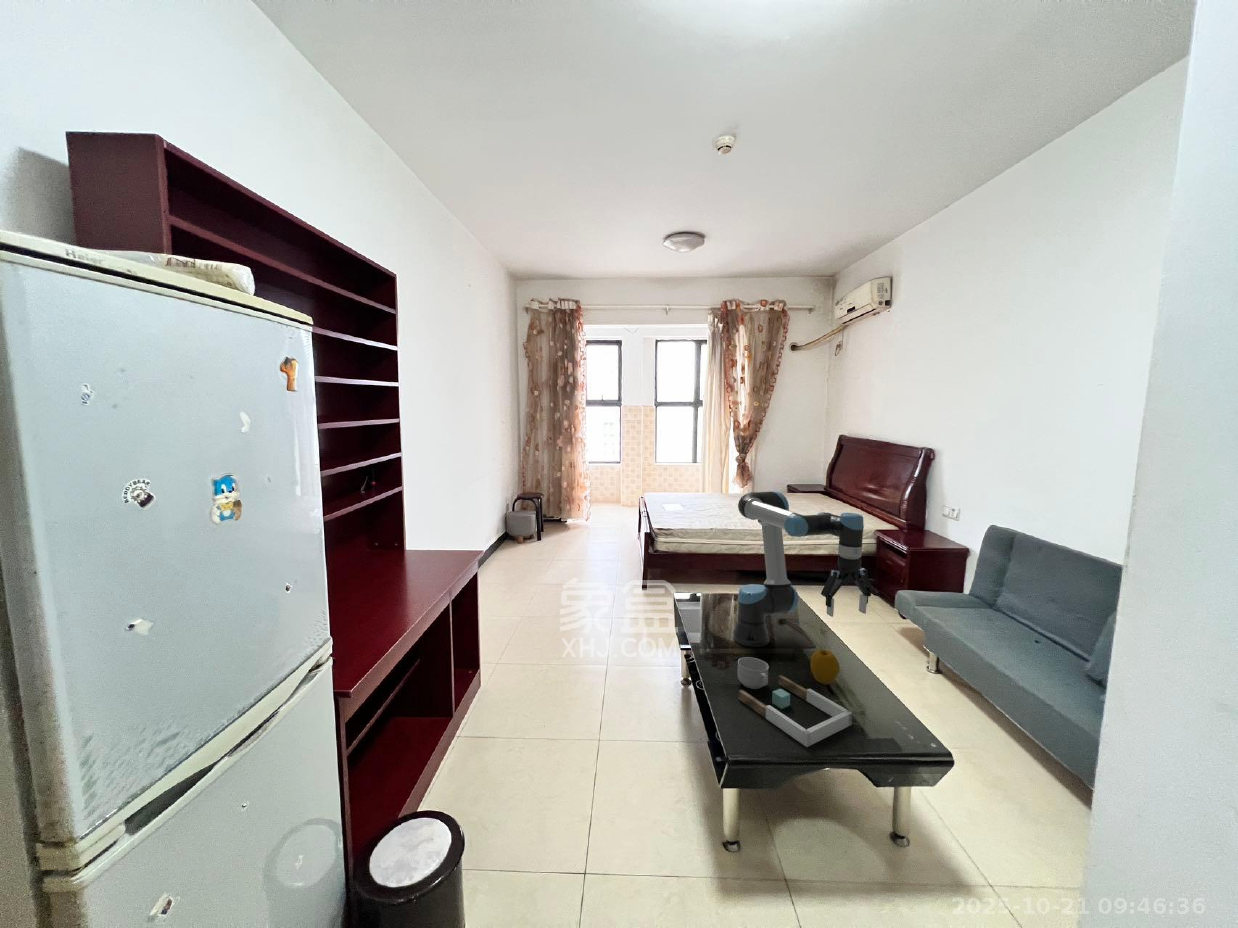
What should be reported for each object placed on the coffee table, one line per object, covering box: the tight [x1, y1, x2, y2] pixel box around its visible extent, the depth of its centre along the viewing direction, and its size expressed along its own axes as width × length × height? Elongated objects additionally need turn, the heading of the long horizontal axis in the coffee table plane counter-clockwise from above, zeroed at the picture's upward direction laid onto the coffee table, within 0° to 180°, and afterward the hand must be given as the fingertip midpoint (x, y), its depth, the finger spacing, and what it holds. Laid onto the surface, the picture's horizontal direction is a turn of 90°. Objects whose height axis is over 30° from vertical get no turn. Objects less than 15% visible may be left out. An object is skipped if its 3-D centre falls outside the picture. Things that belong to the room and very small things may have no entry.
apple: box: [810, 648, 841, 685], centre depth 170 cm, size 10×10×12 cm
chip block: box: [771, 688, 791, 710], centre depth 156 cm, size 4×4×4 cm
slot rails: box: [738, 674, 807, 719], centre depth 158 cm, size 12×21×3 cm, turn 120°
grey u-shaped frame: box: [765, 688, 853, 748], centre depth 147 cm, size 16×21×4 cm
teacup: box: [737, 656, 770, 690], centre depth 166 cm, size 14×11×8 cm
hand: (846, 613), depth 168 cm, fingers open, 13 cm apart
